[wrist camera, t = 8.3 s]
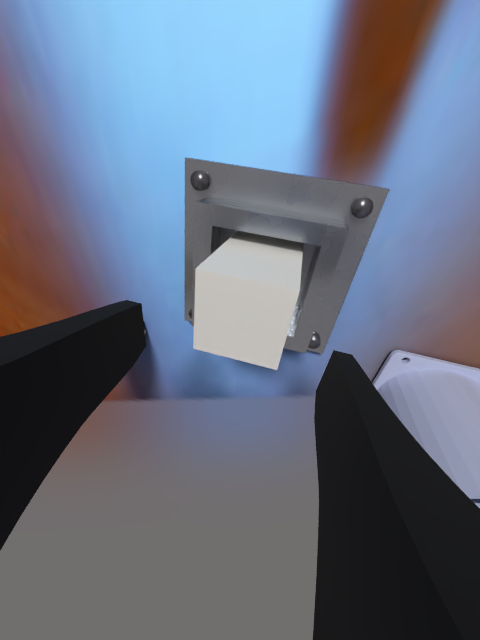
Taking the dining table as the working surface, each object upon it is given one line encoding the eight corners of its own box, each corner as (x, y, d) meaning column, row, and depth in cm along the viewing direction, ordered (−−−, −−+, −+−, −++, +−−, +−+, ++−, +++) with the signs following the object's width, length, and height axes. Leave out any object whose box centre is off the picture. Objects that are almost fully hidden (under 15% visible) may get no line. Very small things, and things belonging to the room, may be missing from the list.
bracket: (385, 188, 13) (406, 194, 10) (322, 347, 19) (324, 379, 16) (190, 158, 15) (161, 155, 12) (188, 315, 21) (168, 339, 18)
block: (303, 242, 15) (299, 290, 9) (288, 300, 17) (277, 370, 11) (238, 229, 15) (195, 268, 9) (231, 288, 17) (193, 348, 12)
